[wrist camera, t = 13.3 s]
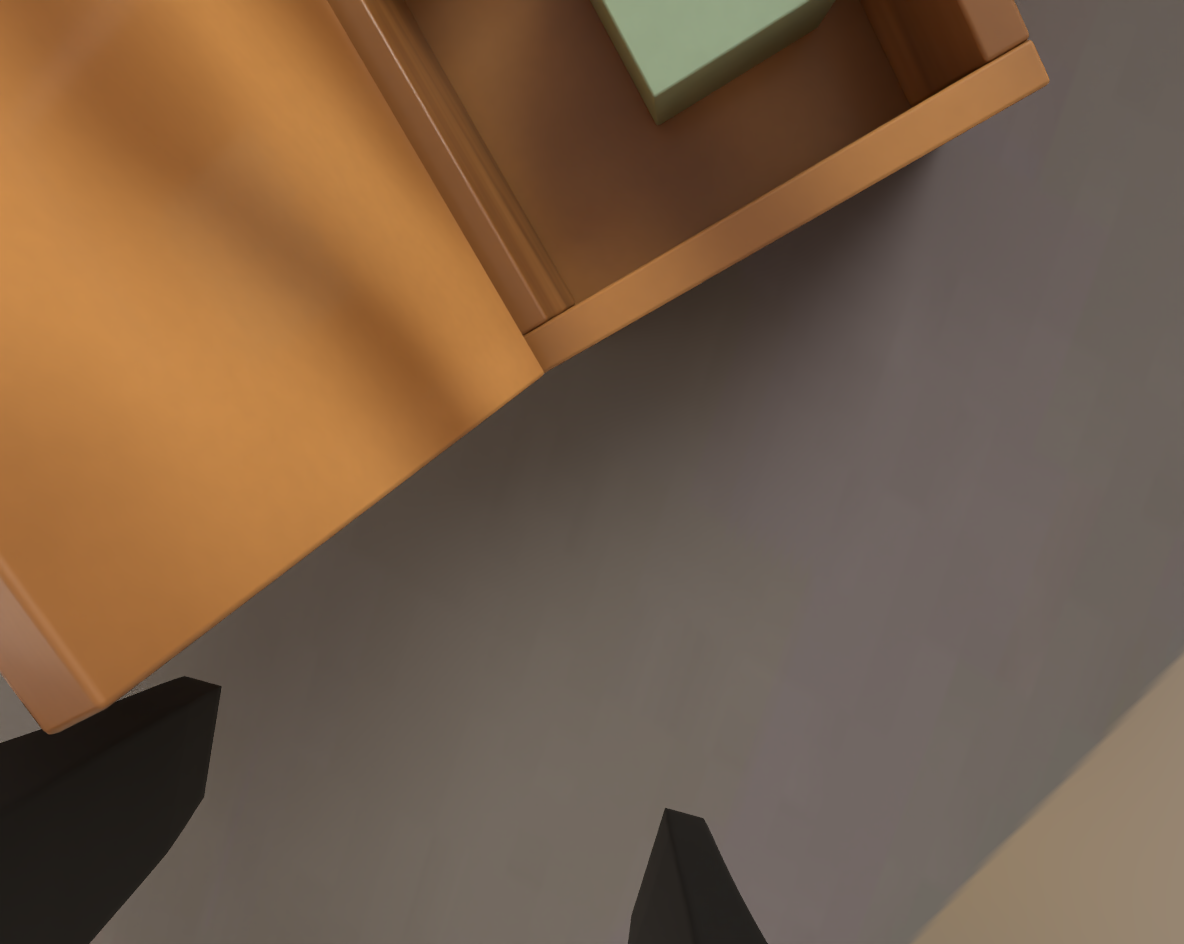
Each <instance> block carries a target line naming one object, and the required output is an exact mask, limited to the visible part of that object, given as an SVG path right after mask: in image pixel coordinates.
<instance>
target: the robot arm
mask: <svg viewBox="0 0 1184 944" xmlns="http://www.w3.org/2000/svg"><path fill="white" fill-rule="evenodd" d="M220 693H221V686H219V685H215V684H211V683H208V682H204V681H200V680H197V679H193V678H189V677H186V676H184V677H181V678H177V679H174V680H171V681H168V682H166V683H163V684H160V685H158V686H155V687H152V688H150V689H147V690H145V691H142V692H140V693H137V694H135V695H132V696H129V697H127V698H124V699H122V700H119V701H117V702H114V703H113V704H112V705H110V706H109V707H108V708H107V709H105V710H103V711H101V712H99V713H97V714H95V715H93V716H91V717H89V718H87V719H85V720H83V721H81V722H79V723H77V724H75V725H73V726H71V727H69V728H67V729H65V730H63V731H61V732H59V733H55V734H47V733H46V732H44V731H43V730H42V729H41V730H38V731H35V732H32V733H29V734H26V735H23V736H20V737H17V738H14V739H11V740H8V741H5V742H2V743H0V944H89V943H90V942H91V941H92V940H93V939H94V938H95V936H96V935H97V934H98V933H99V932H100V931H101V929H102V928H103V927H104V926H105V925H106V924H107V923H108V921H109V920H110V919H111V918H112V917H113V916H114V914H115V913H116V912H117V911H118V910H119V909H120V908H121V906H122V905H123V904H124V903H125V902H126V901H127V899H128V898H129V897H130V896H131V895H132V894H133V892H134V891H135V890H136V889H137V888H138V887H139V885H140V884H141V883H142V882H143V881H144V880H145V878H146V877H147V876H148V875H149V874H150V873H151V871H152V870H153V869H154V868H155V867H156V865H157V864H158V863H159V862H160V861H161V859H162V858H163V857H164V856H165V855H166V853H167V852H168V851H169V849H170V848H171V846H172V845H173V843H174V842H175V841H176V839H177V838H178V836H179V835H180V833H181V832H182V830H183V829H184V827H185V826H186V824H187V823H188V821H189V819H190V818H191V816H192V815H193V813H194V812H195V810H196V809H197V807H198V805H199V804H200V802H201V801H202V799H203V798H204V793H205V787H206V780H207V774H208V768H209V762H210V755H211V749H212V743H213V737H214V730H215V724H216V718H217V712H218V705H219V699H220ZM628 944H768V943H767V942H766V940H765V938H764V937H763V935H762V933H761V931H760V930H759V928H758V926H757V924H756V923H755V921H754V919H753V917H752V915H751V913H750V911H749V910H748V908H747V906H746V904H745V902H744V900H743V898H742V897H741V895H740V893H739V891H738V889H737V887H736V885H735V883H734V881H733V879H732V877H731V875H730V873H729V871H728V869H727V867H726V864H725V862H724V860H723V858H722V856H721V854H720V852H719V850H718V847H717V845H716V843H715V841H714V839H713V836H712V834H711V832H710V830H709V828H708V826H707V824H706V822H705V820H704V819H703V818H700V817H697V816H693V815H689V814H686V813H682V812H678V811H675V810H671V809H667V808H665V810H664V814H663V817H662V820H661V823H660V826H659V830H658V833H657V836H656V839H655V842H654V846H653V849H652V852H651V855H650V858H649V861H648V865H647V868H646V871H645V874H644V877H643V881H642V884H641V887H640V890H639V893H638V897H637V900H636V903H635V906H634V909H633V913H632V916H631V924H630V932H629V940H628Z"/></svg>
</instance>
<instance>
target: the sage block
mask: <svg viewBox="0 0 1184 944" xmlns="http://www.w3.org/2000/svg"><path fill="white" fill-rule="evenodd" d="M590 1H591V3H592V5H593V7H594V9H595V10H596V12H597V14H598V16H599V18H600V20H601V22H602V24H603V26H604V27H605V29H606V31H607V33H608V35H609V37H610V39H611V41H612V42H613V44H614V46H615V48H616V50H617V52H618V54H619V56H620V57H621V59H622V61H623V63H624V65H625V67H626V69H627V71H628V72H629V74H630V76H631V78H632V80H633V82H634V84H635V86H636V88H637V89H638V91H639V93H640V95H641V97H642V99H643V101H644V103H645V104H646V106H647V108H648V110H649V112H650V114H651V116H652V118H653V119H654V121H655V123H656V125H661V124H662V123H664V122H665V121H667V120H669V119H670V118H672V117H674V116H675V115H677V114H678V113H680V112H682V111H683V110H685V109H687V108H688V107H690V106H691V105H693V104H695V103H696V102H698V101H699V100H701V99H703V98H704V97H706V96H708V95H709V94H711V93H712V92H714V91H716V90H717V89H719V88H721V87H722V86H724V85H725V84H727V83H729V82H730V81H732V80H733V79H735V78H737V77H738V76H740V75H742V74H743V73H745V72H746V71H748V70H750V69H751V68H753V67H755V66H756V65H758V64H759V63H761V62H763V61H764V60H766V59H767V58H769V57H771V56H772V55H774V54H776V53H777V52H779V51H780V50H782V49H784V48H785V47H787V46H789V45H790V44H792V43H793V42H795V41H797V40H798V39H800V38H802V37H803V36H805V35H806V34H808V33H810V32H811V31H813V30H814V29H816V28H817V27H818V26H819V25H820V23H821V22H822V20H823V18H824V17H825V15H826V14H827V12H828V11H829V9H830V8H831V6H832V5H833V3H834V2H835V0H590Z"/></svg>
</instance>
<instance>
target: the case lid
mask: <svg viewBox="0 0 1184 944" xmlns="http://www.w3.org/2000/svg"><path fill="white" fill-rule="evenodd" d="M543 374H544V372H543V370H542V368H541V366H540V364H539V363H538V361H537V359H536V358H535V356H534V354H533V352H532V351H531V349H530V347H529V346H528V344H527V342H526V340H525V339H524V337H523V335H522V334H521V332H520V330H519V328H518V327H517V325H516V323H515V322H514V320H513V318H512V316H511V315H510V313H509V311H508V310H507V308H506V306H505V304H504V303H503V301H502V299H501V298H500V296H499V294H498V292H497V291H496V289H495V287H494V286H493V284H492V282H491V280H490V279H489V277H488V275H487V274H486V272H485V270H484V268H483V267H482V265H481V263H480V262H479V260H478V258H477V256H476V255H475V253H474V251H473V250H472V248H471V246H470V244H469V243H468V241H467V239H466V238H465V236H464V234H463V232H462V231H461V229H460V227H459V226H458V224H457V222H456V220H455V219H454V217H453V215H452V214H451V212H450V210H449V208H448V207H447V205H446V203H445V202H444V200H443V198H442V196H441V195H440V193H439V191H438V190H437V188H436V186H435V184H434V183H433V181H432V179H431V178H430V176H429V174H428V172H427V171H426V169H425V167H424V166H423V164H422V162H421V160H420V159H419V157H418V155H417V154H416V152H415V150H414V148H413V147H412V145H411V143H410V142H409V140H408V138H407V136H406V135H405V133H404V131H403V130H402V128H401V126H400V124H399V123H398V121H397V119H396V118H395V116H394V114H393V112H392V111H391V109H390V107H389V106H388V104H387V102H386V101H385V99H384V97H383V95H382V94H381V92H380V90H379V89H378V87H377V85H376V83H375V82H374V80H373V78H372V77H371V75H370V73H369V71H368V70H367V68H366V66H365V65H364V63H363V61H362V59H361V58H360V56H359V54H358V53H357V51H356V49H355V47H354V46H353V44H352V42H351V41H350V39H349V37H348V35H347V34H346V32H345V30H344V29H343V27H342V25H341V23H340V22H339V20H338V18H337V17H336V15H335V13H334V11H333V10H332V8H331V6H330V5H329V3H328V1H327V0H0V673H1V675H2V676H3V677H4V679H5V680H6V681H7V683H8V684H9V685H10V687H11V688H12V689H13V691H14V692H15V693H16V695H17V696H18V697H19V699H20V700H21V701H22V703H23V704H24V706H25V707H26V708H27V710H28V711H29V712H30V714H31V715H32V716H33V718H34V719H35V720H36V722H37V723H38V724H39V726H40V727H41V728H42V730H43V731H44V732H46V733H47V734H55V733H59V732H61V731H63V730H65V729H67V728H69V727H71V726H73V725H75V724H77V723H79V722H81V721H83V720H85V719H87V718H89V717H91V716H93V715H95V714H97V713H99V712H101V711H103V710H105V709H107V708H108V707H109V706H110V705H112V704H113V703H114V702H116V701H117V700H118V699H120V698H121V697H122V696H124V695H125V694H126V693H128V692H129V691H130V690H131V689H133V688H134V687H135V686H137V685H138V684H139V683H141V682H142V681H143V680H145V679H146V678H147V677H149V676H150V675H151V674H152V673H154V672H155V671H156V670H158V669H159V668H160V667H162V666H163V665H164V664H166V663H167V662H168V661H169V660H171V659H172V658H173V657H175V656H176V655H177V654H179V653H180V652H181V651H183V650H184V649H185V648H187V647H188V646H189V645H190V644H192V643H193V642H194V641H196V640H197V639H198V638H200V637H201V636H202V635H204V634H205V633H206V632H208V631H209V630H210V629H211V628H213V627H214V626H215V625H217V624H218V623H219V622H221V621H222V620H223V619H225V618H226V617H227V616H229V615H230V614H231V613H232V612H234V611H235V610H236V609H238V608H239V607H240V606H242V605H243V604H244V603H246V602H247V601H248V600H249V599H251V598H252V597H253V596H255V595H256V594H257V593H259V592H260V591H261V590H263V589H264V588H265V587H267V586H268V585H269V584H270V583H272V582H273V581H274V580H276V579H277V578H278V577H280V576H281V575H282V574H284V573H285V572H286V571H288V570H289V569H290V568H291V567H293V566H294V565H295V564H297V563H298V562H299V561H301V560H302V559H303V558H305V557H306V556H307V555H308V554H310V553H311V552H312V551H314V550H315V549H316V548H318V547H319V546H320V545H322V544H323V543H324V542H326V541H327V540H328V539H329V538H331V537H332V536H333V535H335V534H336V533H337V532H339V531H340V530H341V529H343V528H344V527H345V526H347V525H348V524H349V523H350V522H352V521H353V520H354V519H356V518H357V517H358V516H360V515H361V514H362V513H364V512H365V511H366V510H367V509H369V508H370V507H371V506H373V505H374V504H375V503H377V502H378V501H379V500H381V499H382V498H383V497H385V496H386V495H387V494H388V493H390V492H391V491H392V490H394V489H395V488H396V487H398V486H399V485H400V484H402V483H403V482H404V481H406V480H407V479H408V478H409V477H411V476H412V475H413V474H415V473H416V472H417V471H419V470H420V469H421V468H423V467H424V466H425V465H426V464H428V463H429V462H430V461H432V460H433V459H434V458H436V457H437V456H438V455H440V454H441V453H442V452H444V451H445V450H446V449H447V448H449V447H450V446H451V445H453V444H454V443H455V442H457V441H458V440H459V439H461V438H462V437H463V436H465V435H466V434H467V433H468V432H470V431H471V430H472V429H474V428H475V427H476V426H478V425H479V424H480V423H482V422H483V421H484V420H486V419H487V418H488V417H489V416H491V415H492V414H493V413H495V412H496V411H497V410H499V409H500V408H501V407H503V406H504V405H505V404H506V403H508V402H509V401H510V400H512V399H513V398H514V397H516V396H517V395H518V394H520V393H521V392H522V391H524V390H525V389H526V388H527V387H529V386H530V385H531V384H533V383H534V382H535V381H537V380H538V379H539V378H541V377H542V376H543Z"/></svg>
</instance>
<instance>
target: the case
mask: <svg viewBox="0 0 1184 944" xmlns="http://www.w3.org/2000/svg"><path fill="white" fill-rule="evenodd" d="M327 1H328V3H329V5H330V6H331V8H332V10H333V11H334V13H335V15H336V17H337V18H338V20H339V22H340V23H341V25H342V27H343V29H344V30H345V32H346V34H347V35H348V37H349V39H350V41H351V42H352V44H353V46H354V47H355V49H356V51H357V53H358V54H359V56H360V58H361V59H362V61H363V63H364V65H365V66H366V68H367V70H368V71H369V73H370V75H371V77H372V78H373V80H374V82H375V83H376V85H377V87H378V89H379V90H380V92H381V94H382V95H383V97H384V99H385V101H386V102H387V104H388V106H389V107H390V109H391V111H392V112H393V114H394V116H395V118H396V119H397V121H398V123H399V124H400V126H401V128H402V130H403V131H404V133H405V135H406V136H407V138H408V140H409V142H410V143H411V145H412V147H413V148H414V150H415V152H416V154H417V155H418V157H419V159H420V160H421V162H422V164H423V166H424V167H425V169H426V171H427V172H428V174H429V176H430V178H431V179H432V181H433V183H434V184H435V186H436V188H437V190H438V191H439V193H440V195H441V196H442V198H443V200H444V202H445V203H446V205H447V207H448V208H449V210H450V212H451V214H452V215H453V217H454V219H455V220H456V222H457V224H458V226H459V227H460V229H461V231H462V232H463V234H464V236H465V238H466V239H467V241H468V243H469V244H470V246H471V248H472V250H473V251H474V253H475V255H476V256H477V258H478V260H479V262H480V263H481V265H482V267H483V268H484V270H485V272H486V274H487V275H488V277H489V279H490V280H491V282H492V284H493V286H494V287H495V289H496V291H497V292H498V294H499V296H500V298H501V299H502V301H503V303H504V304H505V306H506V308H507V310H508V311H509V313H510V315H511V316H512V318H513V320H514V322H515V323H516V325H517V327H518V328H519V330H520V332H521V334H522V335H523V337H524V339H525V340H526V342H527V344H528V346H529V347H530V349H531V351H532V352H533V354H534V356H535V358H536V359H537V361H538V363H539V364H540V366H541V368H542V370H543V372H544V373H546V372H547V371H549V370H551V369H553V368H554V367H556V366H558V365H560V364H561V363H563V362H565V361H567V360H568V359H570V358H572V357H574V356H575V355H577V354H579V353H580V352H582V351H584V350H586V349H587V348H589V347H591V346H593V345H594V344H596V343H598V342H600V341H601V340H603V339H605V338H607V337H608V336H610V335H612V334H614V333H615V332H617V331H619V330H621V329H622V328H624V327H626V326H628V325H629V324H631V323H633V322H635V321H636V320H638V319H640V318H642V317H643V316H645V315H647V314H649V313H650V312H652V311H654V310H655V309H657V308H659V307H661V306H662V305H664V304H666V303H668V302H669V301H671V300H673V299H675V298H676V297H678V296H680V295H682V294H683V293H685V292H687V291H689V290H690V289H692V288H694V287H696V286H697V285H699V284H701V283H703V282H704V281H706V280H708V279H710V278H711V277H713V276H715V275H717V274H718V273H720V272H722V271H723V270H725V269H727V268H729V267H730V266H732V265H734V264H736V263H737V262H739V261H741V260H743V259H744V258H746V257H748V256H750V255H751V254H753V253H755V252H757V251H758V250H760V249H762V248H764V247H765V246H767V245H769V244H771V243H772V242H774V241H776V240H778V239H779V238H781V237H783V236H785V235H786V234H788V233H790V232H792V231H793V230H795V229H797V228H798V227H800V226H802V225H804V224H805V223H807V222H809V221H811V220H812V219H814V218H816V217H818V216H819V215H821V214H823V213H825V212H826V211H828V210H830V209H832V208H833V207H835V206H837V205H839V204H840V203H842V202H844V201H846V200H847V199H849V198H851V197H853V196H854V195H856V194H858V193H860V192H861V191H863V190H865V189H866V188H868V187H870V186H872V185H873V184H875V183H877V182H879V181H880V180H882V179H884V178H886V177H887V176H889V175H891V174H893V173H894V172H896V171H898V170H900V169H901V168H903V167H905V166H907V165H908V164H910V163H912V162H914V161H915V160H917V159H919V158H921V157H922V156H924V155H926V154H928V153H929V152H931V151H933V150H935V149H936V148H938V147H940V146H941V145H943V144H945V143H947V142H948V141H950V140H952V139H954V138H955V137H957V136H959V135H961V134H962V133H964V132H966V131H968V130H969V129H971V128H973V127H975V126H976V125H978V124H980V123H982V122H983V121H985V120H987V119H989V118H990V117H992V116H994V115H996V114H997V113H999V112H1001V111H1003V110H1004V109H1006V108H1008V107H1009V106H1011V105H1013V104H1015V103H1016V102H1018V101H1020V100H1022V99H1023V98H1025V97H1027V96H1029V95H1030V94H1032V93H1034V92H1036V91H1037V90H1039V89H1041V88H1043V87H1044V86H1046V85H1047V84H1048V83H1049V77H1048V75H1047V72H1046V70H1045V68H1044V66H1043V63H1042V61H1041V59H1040V57H1039V55H1038V52H1037V50H1036V48H1035V46H1034V43H1033V42H1032V41H1031V40H1027V39H1028V38H1029V33H1028V31H1027V28H1026V26H1025V24H1024V22H1023V19H1022V17H1021V15H1020V13H1019V11H1018V8H1017V6H1016V4H1015V2H1014V0H835V2H834V3H833V5H832V6H831V8H830V9H829V11H828V12H827V14H826V15H825V17H824V18H823V20H822V22H821V23H820V25H819V26H818V27H817V28H816V29H814V30H813V31H811V32H810V33H808V34H806V35H805V36H803V37H802V38H800V39H798V40H797V41H795V42H793V43H792V44H790V45H789V46H787V47H785V48H784V49H782V50H780V51H779V52H777V53H776V54H774V55H772V56H771V57H769V58H767V59H766V60H764V61H763V62H761V63H759V64H758V65H756V66H755V67H753V68H751V69H750V70H748V71H746V72H745V73H743V74H742V75H740V76H738V77H737V78H735V79H733V80H732V81H730V82H729V83H727V84H725V85H724V86H722V87H721V88H719V89H717V90H716V91H714V92H712V93H711V94H709V95H708V96H706V97H704V98H703V99H701V100H699V101H698V102H696V103H695V104H693V105H691V106H690V107H688V108H687V109H685V110H683V111H682V112H680V113H678V114H677V115H675V116H674V117H672V118H670V119H669V120H667V121H665V122H664V123H662V124H661V125H656V123H655V121H654V119H653V118H652V116H651V114H650V112H649V110H648V108H647V106H646V104H645V103H644V101H643V99H642V97H641V95H640V93H639V91H638V89H637V88H636V86H635V84H634V82H633V80H632V78H631V76H630V74H629V72H628V71H627V69H626V67H625V65H624V63H623V61H622V59H621V57H620V56H619V54H618V52H617V50H616V48H615V46H614V44H613V42H612V41H611V39H610V37H609V35H608V33H607V31H606V29H605V27H604V26H603V24H602V22H601V20H600V18H599V16H598V14H597V12H596V10H595V9H594V7H593V5H592V3H591V1H590V0H327ZM1026 40H1027V41H1026Z"/></svg>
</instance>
